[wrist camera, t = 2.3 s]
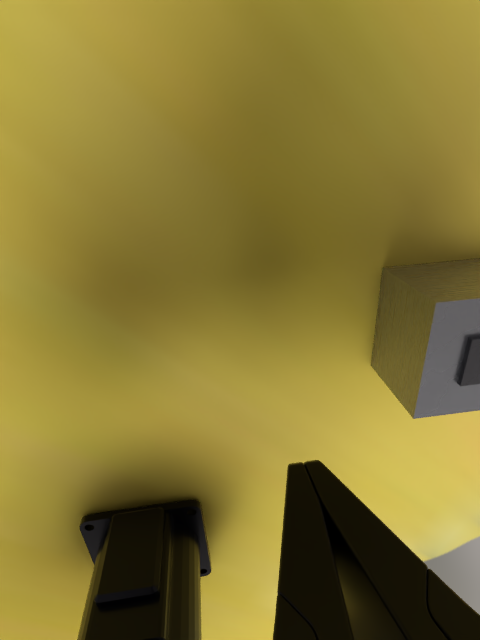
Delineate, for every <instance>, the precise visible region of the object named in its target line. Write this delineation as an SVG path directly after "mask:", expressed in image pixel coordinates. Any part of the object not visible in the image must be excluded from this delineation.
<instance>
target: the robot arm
mask: <svg viewBox="0 0 480 640" xmlns="http://www.w3.org/2000/svg"><path fill="white" fill-rule="evenodd" d="M80 531H81V533H82V536H83V538H84V541H85V543H86V546H87V548H88V551H89V553H90V555H91V558H92V560H93V563H94V570H93V574H92V578H91V583H90V587H89V591H88V596H87V600H86V604H85V609H84V613H83V617H82V621H81V626H80V630H79V634H78V639H77V640H201V592H200V577H202V576H206V575H208V574H210V573H211V561H210V555H209V550H208V544H207V538H206V532H205V526H204V520H203V514H202V508H201V504H200V502H199V501H197V500H186V501H179V502H172V503H165V504H158V505H152V506H145V507H138V508H131V509H125V510H118V511H111V512H104V513H97V514H91V515H86V516H84V517H83V518H82V520H81V524H80ZM273 640H480V615H479V614H478V613H477V612H475V611H474V610H473V609H472V608H471V607H470V606H469V605H468V604H466V603H465V602H464V601H463V600H462V599H461V598H460V597H459V596H458V595H457V594H456V593H455V592H454V591H453V590H452V589H450V588H449V587H448V586H447V585H446V584H445V583H444V582H443V581H442V580H441V579H440V578H439V577H438V576H437V575H436V574H435V573H434V572H433V571H432V570H431V569H428V567H427V565H426V564H425V563H424V562H423V561H422V560H421V559H420V558H419V557H418V556H417V555H416V554H415V553H413V552H412V551H411V550H410V549H409V548H408V547H407V546H406V545H405V544H404V543H403V542H402V541H401V540H400V539H399V538H398V537H397V536H396V535H395V534H394V533H393V532H392V531H391V530H390V529H389V528H388V527H387V526H386V525H385V524H384V523H383V522H382V521H381V520H380V519H379V518H378V517H377V516H376V515H375V514H374V513H373V512H372V511H371V510H370V509H369V508H368V507H367V506H366V505H365V504H364V503H362V502H361V501H360V500H359V499H358V498H357V497H356V496H355V495H354V494H353V493H352V492H351V491H350V490H349V489H348V488H347V487H346V486H345V485H344V484H343V483H342V482H341V481H340V480H339V479H338V478H337V477H336V476H335V475H334V474H333V473H332V472H331V471H330V470H329V469H328V468H327V467H326V466H325V465H324V464H323V463H322V462H321V461H319V460H313V461H306V462H304V464H303V463H302V462H299V463H292V464H289V465H288V470H287V483H286V495H285V507H284V519H283V532H282V544H281V556H280V568H279V581H278V596H277V603H276V615H275V624H274V633H273Z"/></svg>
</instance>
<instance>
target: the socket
mask: <svg viewBox="0 0 480 640" xmlns="http://www.w3.org/2000/svg"><path fill="white" fill-rule="evenodd" d="M371 366H372V368H373V369H374V370H375V371H376V373H377V374H378V375H379V376H380V378H381V379H382V380H383V381H384V383H385V384H386V385H387V386H388V388H389V389H390V390H391V391H392V393H393V394H394V395H395V396H396V398H397V399H398V400H399V401H400V403H401V404H402V405H403V406H404V408H405V409H406V410H407V411H408V413H409V414H410V415H411V416H412V418H413V419H415V418H423V417H431V416H438V415H446V414H454V413H462V412H469V411H477V410H480V258H478V259H468V260H457V261H447V262H436V263H425V264H415V265H404V266H394V267H383V268H382V277H381V285H380V293H379V302H378V310H377V318H376V327H375V335H374V343H373V352H372V360H371Z"/></svg>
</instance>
